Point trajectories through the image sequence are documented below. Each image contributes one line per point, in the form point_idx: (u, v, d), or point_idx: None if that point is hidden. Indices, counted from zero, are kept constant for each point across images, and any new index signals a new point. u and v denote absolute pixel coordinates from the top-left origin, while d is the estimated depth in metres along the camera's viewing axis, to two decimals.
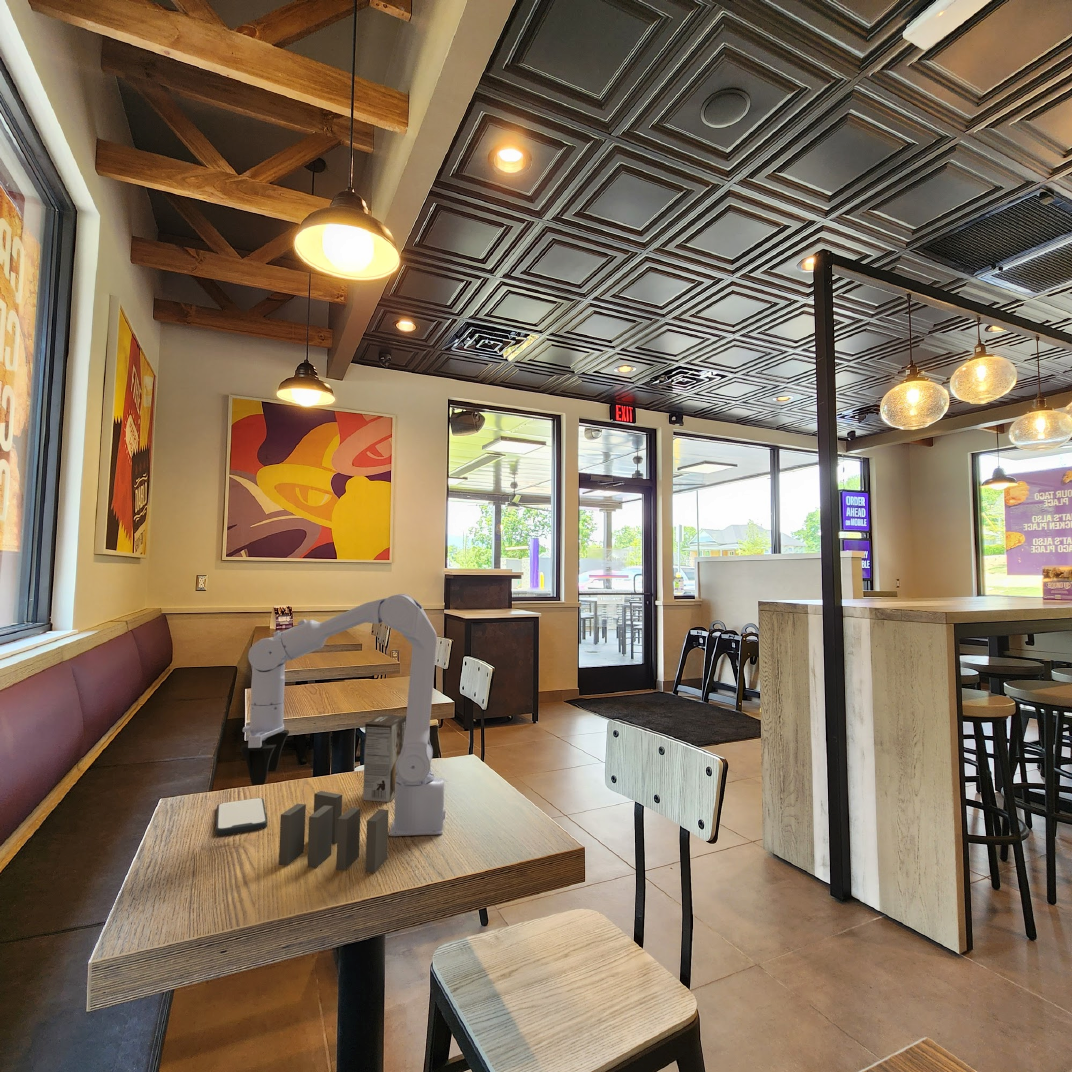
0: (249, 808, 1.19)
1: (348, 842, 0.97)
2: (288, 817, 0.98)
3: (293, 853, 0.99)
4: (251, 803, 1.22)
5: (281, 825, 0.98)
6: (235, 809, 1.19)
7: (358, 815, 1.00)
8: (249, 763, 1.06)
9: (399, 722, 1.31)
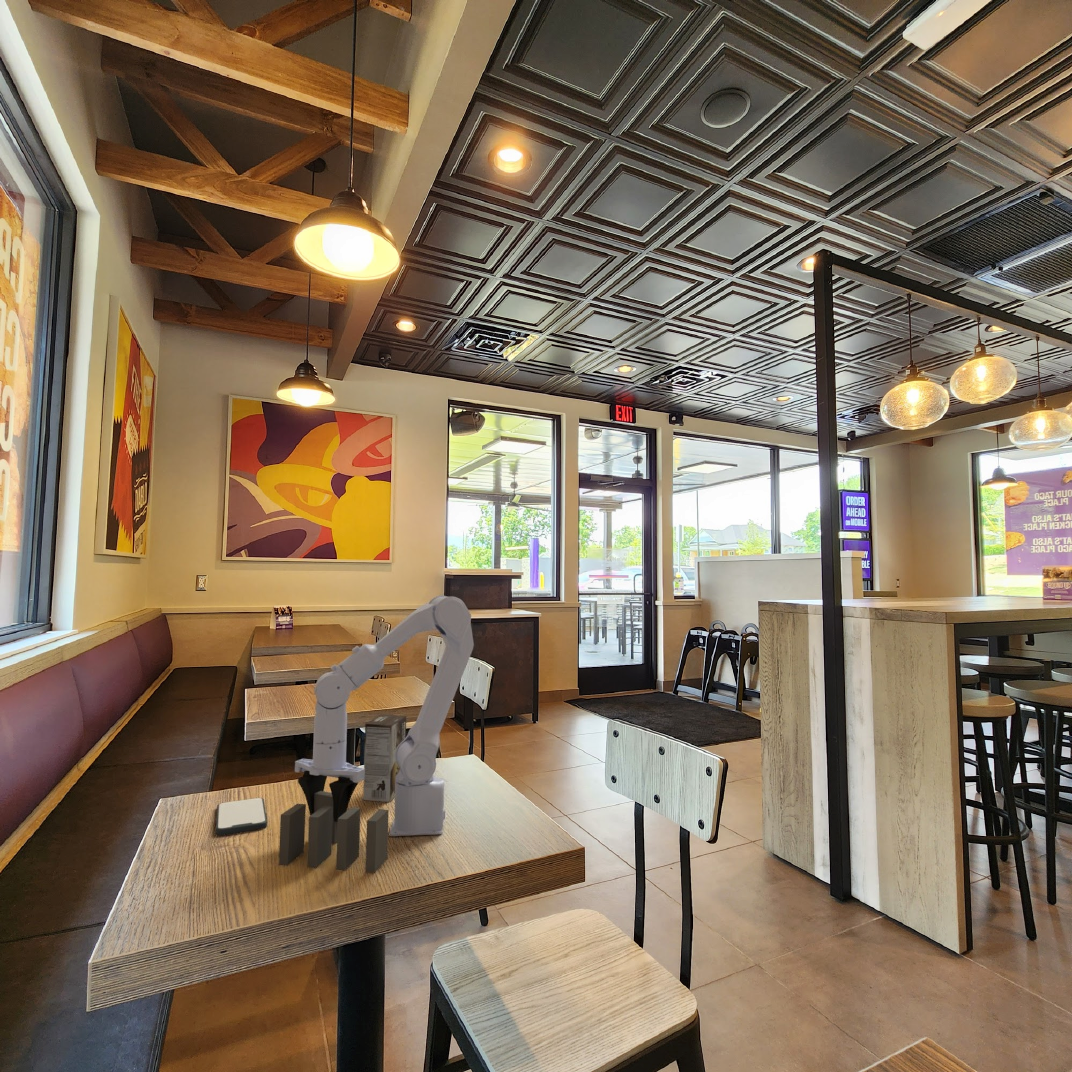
0: (249, 808, 1.19)
1: (348, 842, 0.97)
2: (288, 817, 0.98)
3: (293, 853, 0.99)
4: (251, 803, 1.22)
5: (281, 825, 0.98)
6: (235, 809, 1.19)
7: (357, 815, 1.00)
8: (340, 800, 1.05)
9: (399, 722, 1.31)
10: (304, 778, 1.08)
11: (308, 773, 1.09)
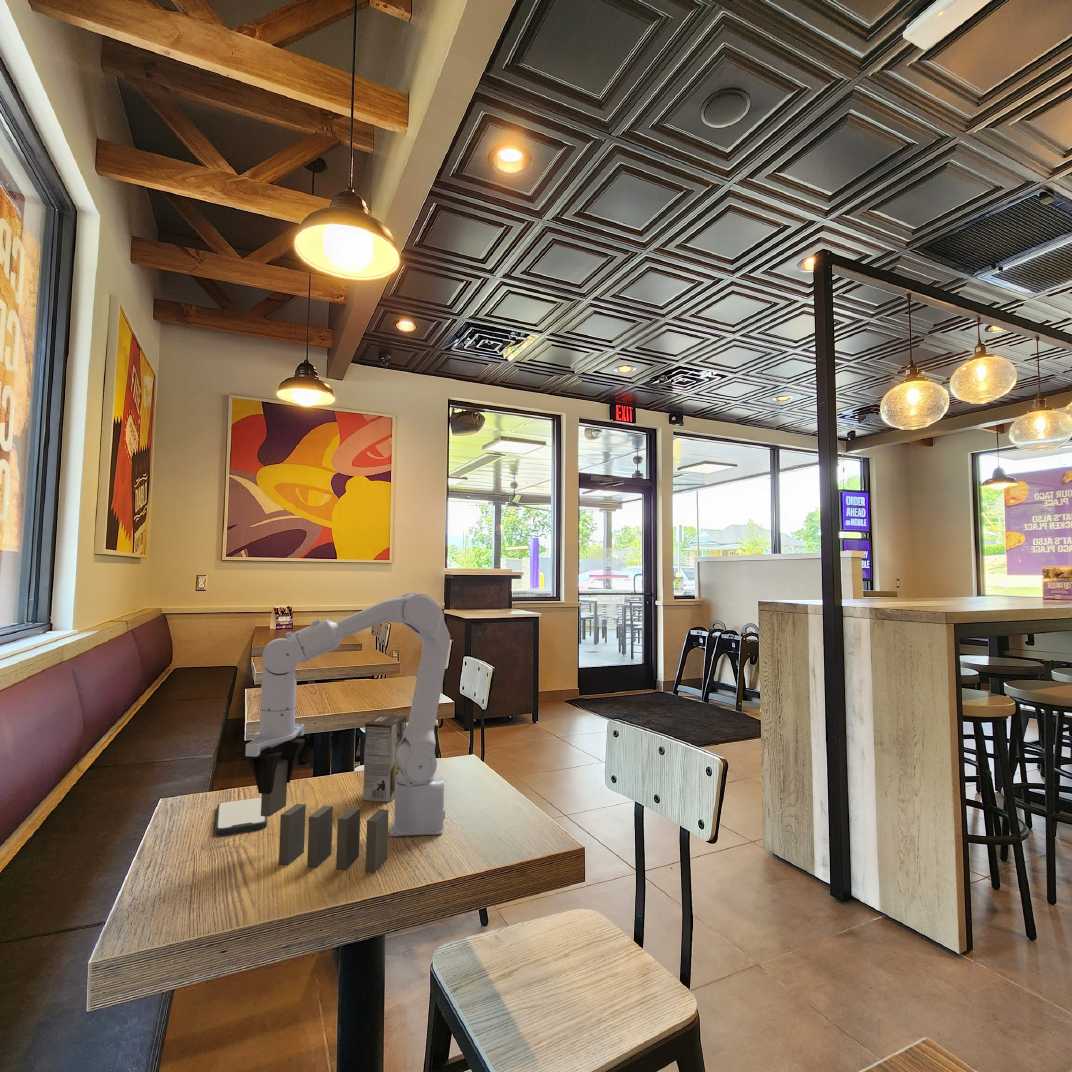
0: (249, 808, 1.19)
1: (348, 842, 0.97)
2: (288, 817, 0.98)
3: (293, 853, 0.99)
4: (251, 803, 1.22)
5: (281, 825, 0.98)
6: (235, 809, 1.19)
7: (357, 815, 1.00)
8: (254, 770, 1.00)
9: (399, 722, 1.31)
10: None
11: None
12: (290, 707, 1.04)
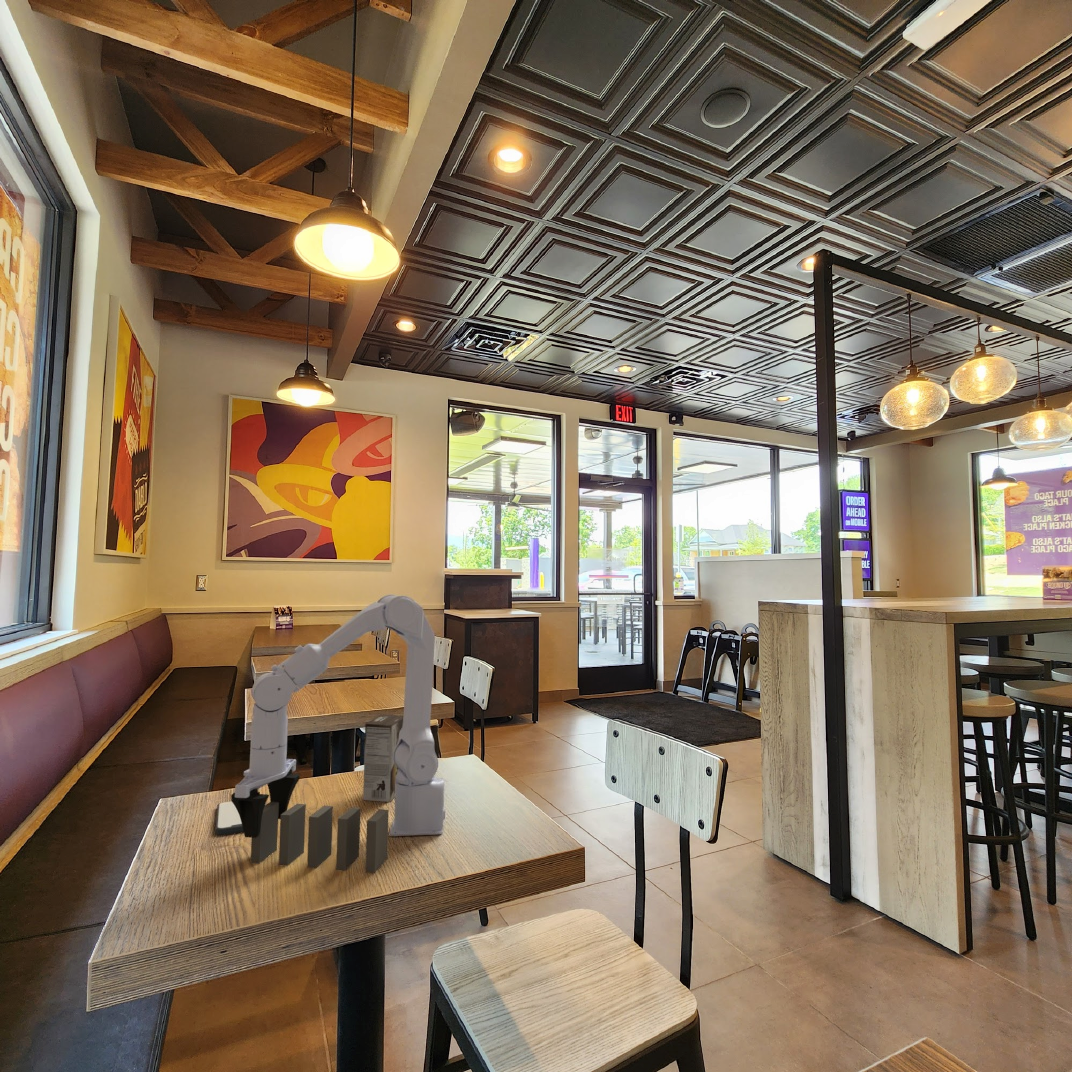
0: None
1: (348, 842, 0.97)
2: (288, 817, 0.98)
3: (293, 853, 0.99)
4: None
5: (281, 825, 0.98)
6: (235, 809, 1.19)
7: (358, 815, 1.00)
8: (240, 813, 0.97)
9: (399, 722, 1.31)
10: None
11: None
12: (282, 744, 1.01)
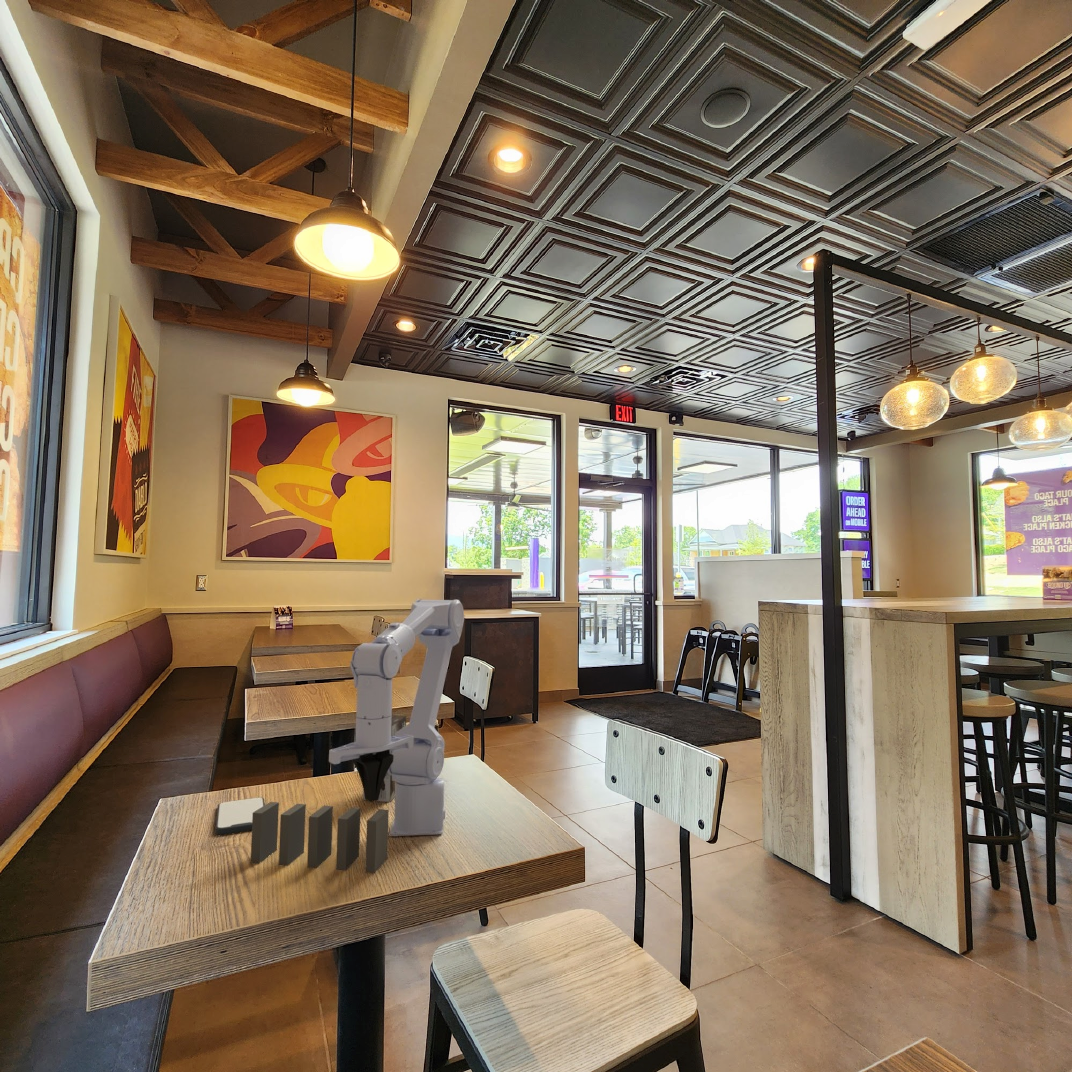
0: (249, 808, 1.19)
1: (348, 842, 0.97)
2: (288, 817, 0.98)
3: (293, 853, 0.99)
4: (251, 803, 1.22)
5: (281, 825, 0.98)
6: (235, 808, 1.19)
7: (358, 815, 1.00)
8: (360, 774, 0.99)
9: (399, 722, 1.31)
10: None
11: None
12: None
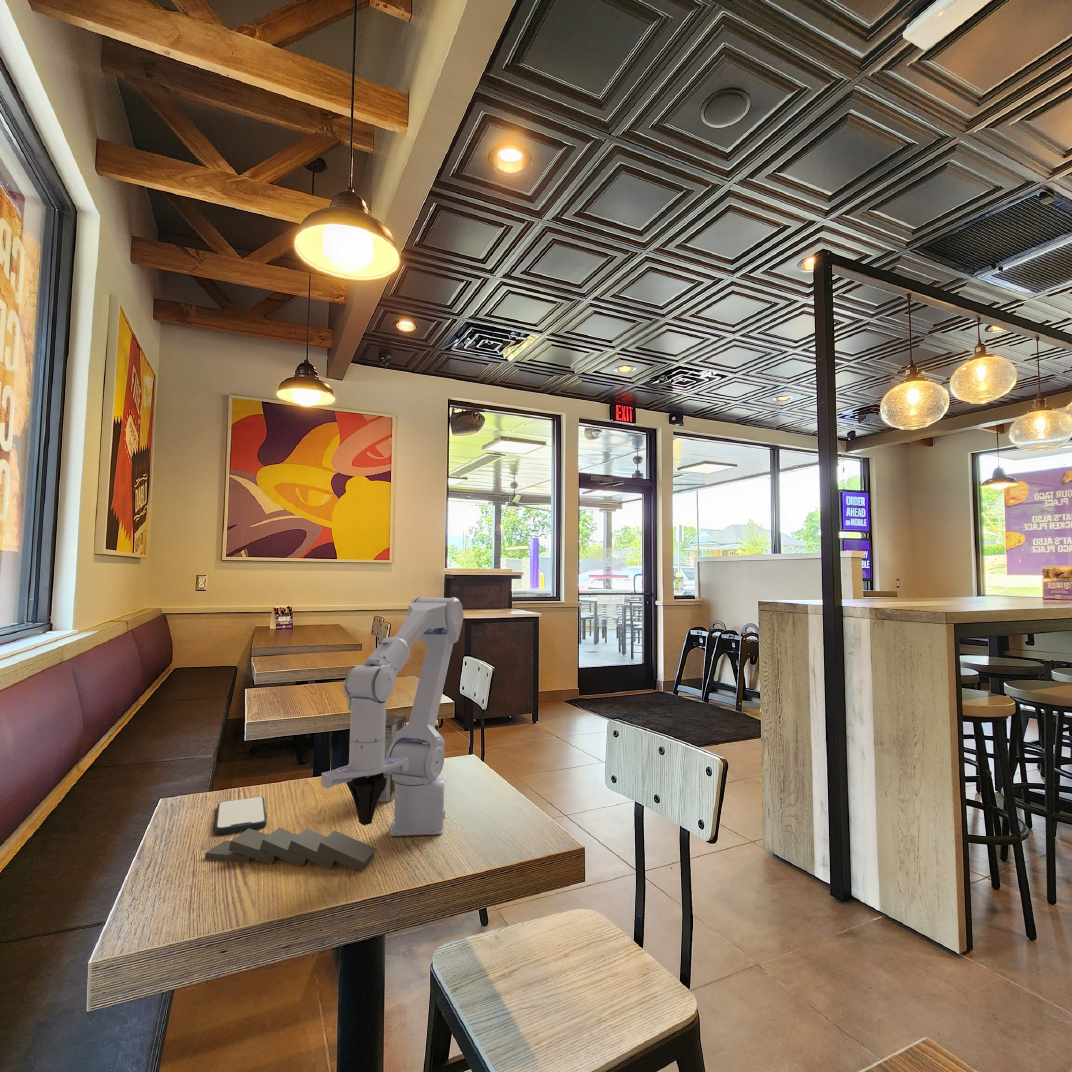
0: (249, 808, 1.19)
1: (314, 848, 0.98)
2: (232, 842, 0.99)
3: None
4: (251, 802, 1.22)
5: (237, 852, 0.98)
6: (235, 808, 1.19)
7: (309, 832, 1.01)
8: (354, 797, 0.99)
9: (399, 722, 1.31)
10: None
11: None
12: None
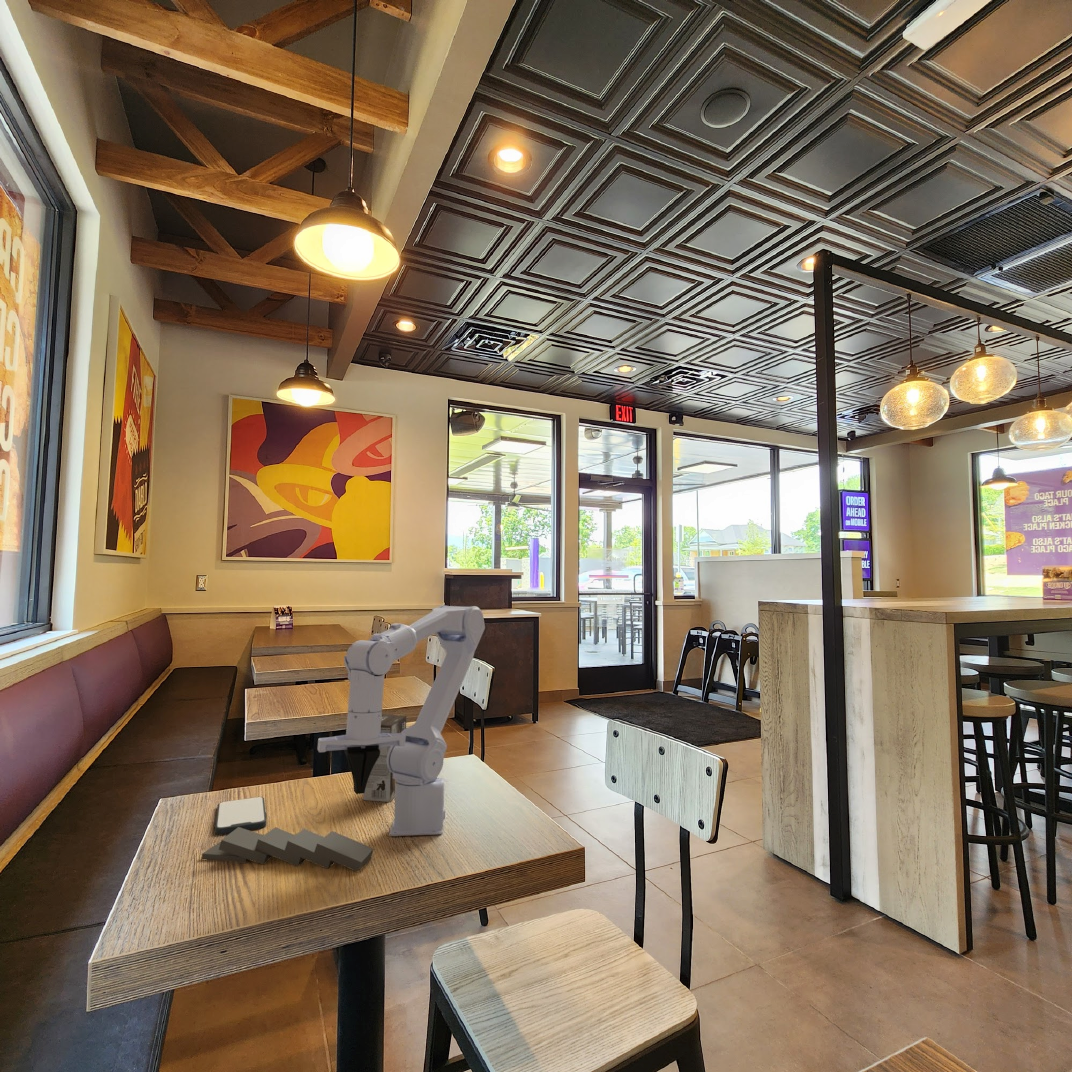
0: (249, 808, 1.19)
1: (311, 848, 0.98)
2: (223, 842, 0.98)
3: None
4: (251, 802, 1.22)
5: (228, 851, 0.98)
6: (235, 808, 1.19)
7: (306, 832, 1.02)
8: (350, 766, 1.03)
9: (399, 722, 1.31)
10: None
11: None
12: (381, 708, 1.04)
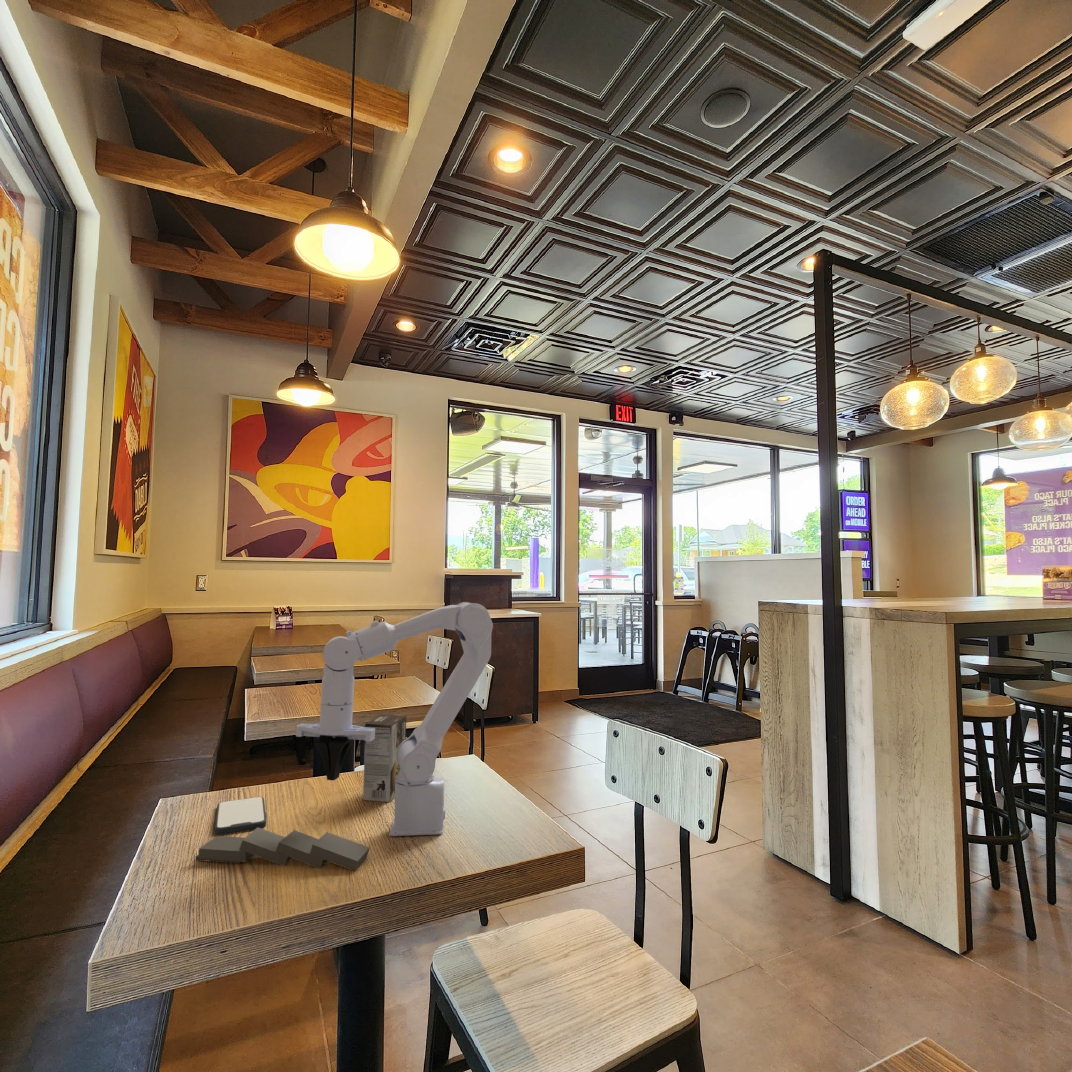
0: (249, 808, 1.19)
1: (302, 848, 0.98)
2: (201, 850, 0.98)
3: None
4: (251, 802, 1.22)
5: (208, 857, 0.98)
6: (235, 808, 1.19)
7: (296, 834, 1.01)
8: None
9: (399, 722, 1.31)
10: None
11: None
12: (348, 702, 1.09)
